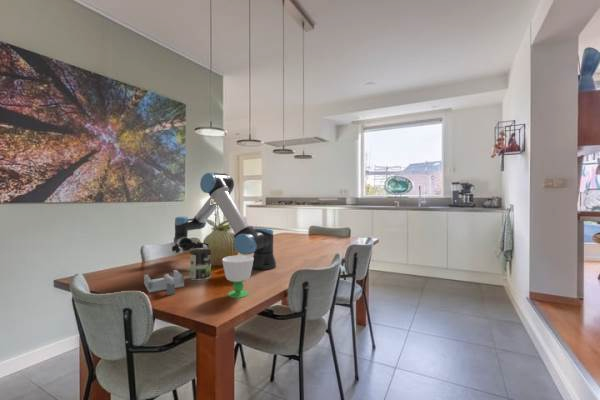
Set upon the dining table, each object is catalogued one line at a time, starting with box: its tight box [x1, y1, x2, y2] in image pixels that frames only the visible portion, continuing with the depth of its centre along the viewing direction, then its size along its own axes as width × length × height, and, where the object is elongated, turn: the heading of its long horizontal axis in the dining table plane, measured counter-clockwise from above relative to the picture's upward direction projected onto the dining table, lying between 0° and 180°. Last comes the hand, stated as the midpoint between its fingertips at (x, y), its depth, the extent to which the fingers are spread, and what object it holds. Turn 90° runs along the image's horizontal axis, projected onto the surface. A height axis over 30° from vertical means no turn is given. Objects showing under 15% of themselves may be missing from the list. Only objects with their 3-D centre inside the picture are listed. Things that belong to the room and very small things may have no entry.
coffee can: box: [189, 248, 212, 281], centre depth 154 cm, size 10×10×14 cm
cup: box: [221, 254, 254, 299], centre depth 129 cm, size 14×14×16 cm
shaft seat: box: [143, 269, 185, 296], centre depth 138 cm, size 24×15×7 cm, turn 35°
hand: (194, 249), depth 164 cm, fingers open, 13 cm apart
